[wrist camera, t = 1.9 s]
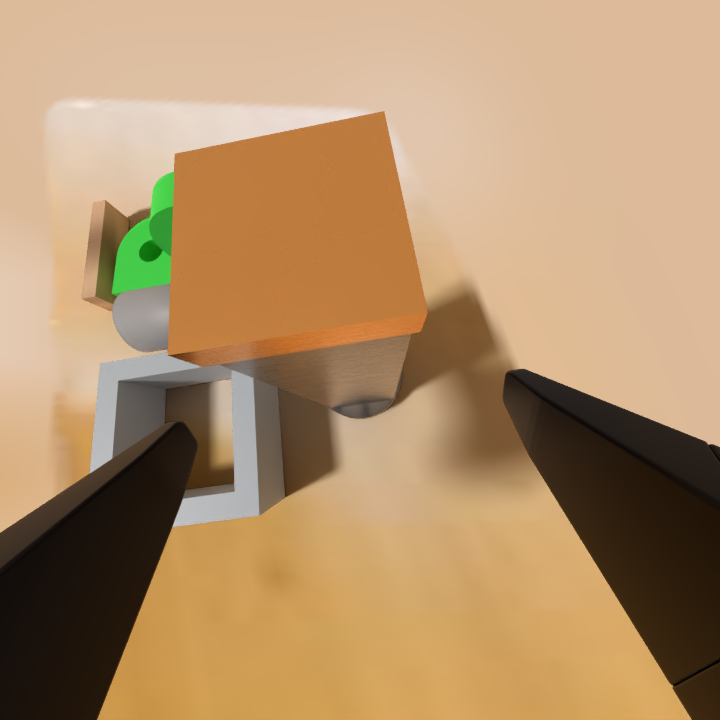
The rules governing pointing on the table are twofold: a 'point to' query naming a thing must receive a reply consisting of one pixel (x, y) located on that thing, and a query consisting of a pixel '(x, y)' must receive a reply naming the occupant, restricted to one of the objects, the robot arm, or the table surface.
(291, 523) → the table surface
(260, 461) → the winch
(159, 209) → the mechanical part
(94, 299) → the bay rails
